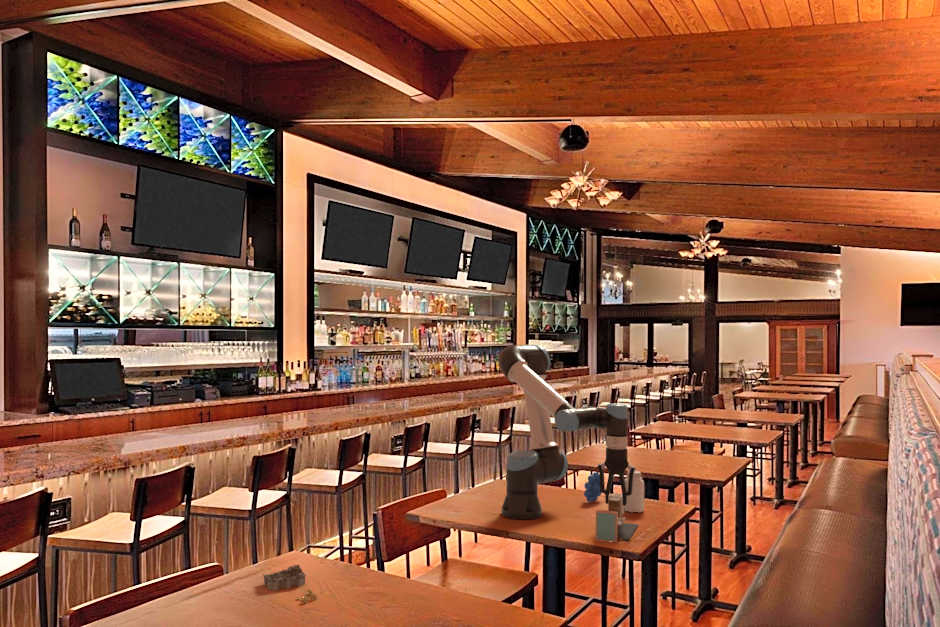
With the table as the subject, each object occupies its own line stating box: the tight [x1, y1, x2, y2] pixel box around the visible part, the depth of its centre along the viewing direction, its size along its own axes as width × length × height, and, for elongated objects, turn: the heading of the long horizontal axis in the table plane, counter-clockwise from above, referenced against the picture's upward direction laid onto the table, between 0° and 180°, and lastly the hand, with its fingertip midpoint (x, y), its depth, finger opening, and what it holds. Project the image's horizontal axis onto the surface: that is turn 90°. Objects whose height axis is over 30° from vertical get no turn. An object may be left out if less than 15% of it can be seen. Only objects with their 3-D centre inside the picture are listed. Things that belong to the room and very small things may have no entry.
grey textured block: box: [262, 564, 307, 591], centre depth 204 cm, size 11×8×4 cm
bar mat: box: [617, 522, 639, 541], centre depth 260 cm, size 10×20×1 cm, turn 159°
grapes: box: [583, 471, 603, 503], centre depth 304 cm, size 12×7×12 cm, turn 134°
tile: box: [595, 509, 618, 543], centre depth 249 cm, size 7×2×10 cm, turn 69°
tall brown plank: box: [609, 493, 626, 526], centre depth 262 cm, size 22×8×6 cm, turn 159°
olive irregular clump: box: [295, 589, 317, 605], centre depth 194 cm, size 5×5×2 cm
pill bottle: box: [624, 470, 645, 513], centre depth 290 cm, size 8×8×15 cm
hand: (615, 513), depth 265 cm, fingers closed on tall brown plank, 3 cm apart
